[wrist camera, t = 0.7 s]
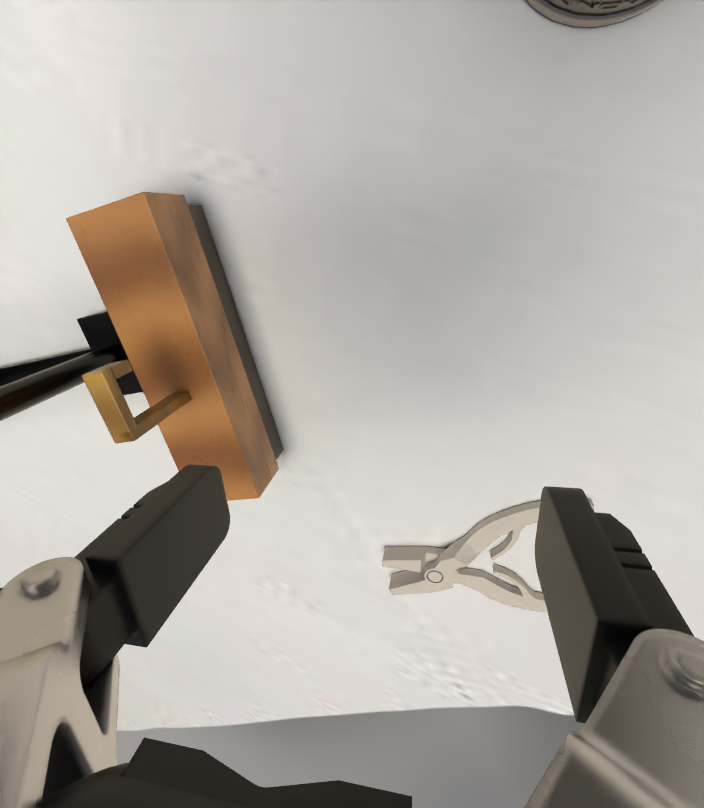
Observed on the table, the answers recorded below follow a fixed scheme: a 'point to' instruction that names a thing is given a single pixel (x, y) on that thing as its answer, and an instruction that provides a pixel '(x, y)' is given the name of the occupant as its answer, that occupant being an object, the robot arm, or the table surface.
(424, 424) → the table surface
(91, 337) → the black hurdle stand
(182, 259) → the scrub brush
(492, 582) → the pliers
